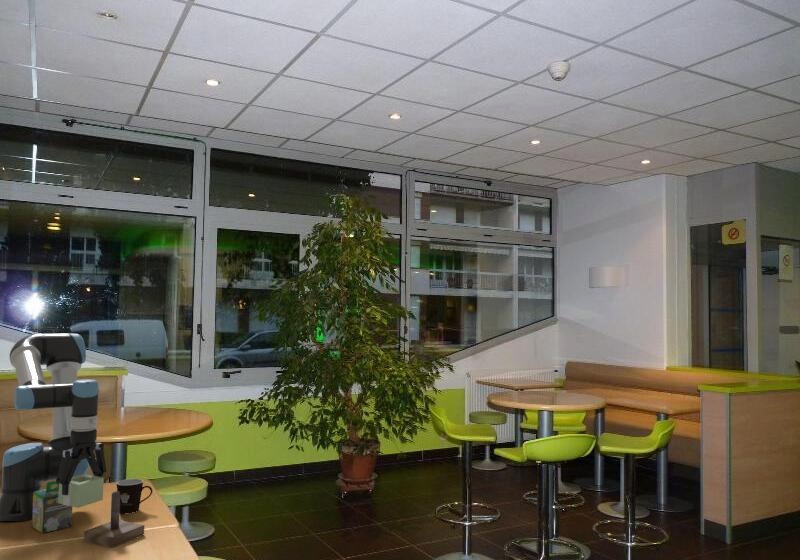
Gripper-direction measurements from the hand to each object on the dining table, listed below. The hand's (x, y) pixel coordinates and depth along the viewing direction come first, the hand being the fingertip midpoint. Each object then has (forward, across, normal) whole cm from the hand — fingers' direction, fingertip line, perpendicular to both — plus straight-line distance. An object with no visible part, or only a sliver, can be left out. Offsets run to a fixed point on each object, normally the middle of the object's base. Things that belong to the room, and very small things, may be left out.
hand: (81, 500), depth 201 cm
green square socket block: (0, 0, 0) cm, 0 cm away
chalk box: (+10, -1, +11) cm, 15 cm away
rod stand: (+9, +1, -14) cm, 17 cm away
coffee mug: (+10, +22, +1) cm, 24 cm away
